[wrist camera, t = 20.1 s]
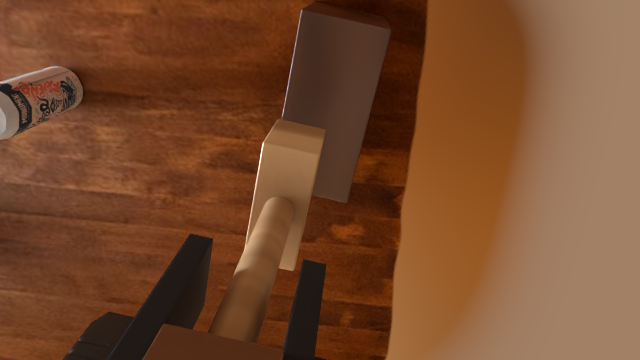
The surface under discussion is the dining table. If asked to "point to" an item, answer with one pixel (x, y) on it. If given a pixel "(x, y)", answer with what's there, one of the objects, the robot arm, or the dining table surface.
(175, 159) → the dining table surface
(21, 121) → the beer can
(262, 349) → the wooden mallet
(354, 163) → the stand
